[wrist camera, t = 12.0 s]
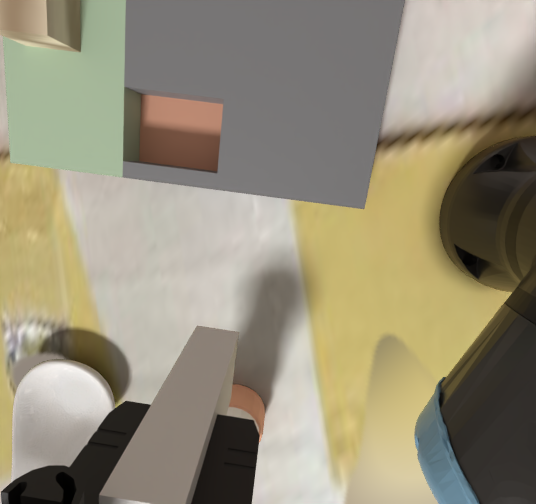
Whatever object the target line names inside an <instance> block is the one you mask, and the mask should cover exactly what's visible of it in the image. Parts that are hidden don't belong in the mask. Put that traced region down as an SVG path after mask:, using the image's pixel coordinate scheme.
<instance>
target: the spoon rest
mask: <svg viewBox="0 0 536 504" xmlns="http://www.w3.org/2000/svg"><path fill="white" fill-rule="evenodd" d="M114 409H115V401H114V396H113V393H112V390H111V388H110V386H109V384H108V383H107V381H106V380H105V379H104V378H103V377H102V375H101V374H100V373H98V372H97V371H96V370H94V369H93V368H91V367H89V366H87V365H85V364H83V363H80V362H77V361H73V360H65V359H54V360H48V361H44V362H42V363H40V364H38V365H36V366H34V367H33V368H32V369H31V370H29V371H28V372H27V374H26V375H25V376H24V377H23V379H22V380H21V382H20V384H19V386H18V388H17V391H16V394H15V400H14V406H13V429H12V476H11V483H12V482H13V481H14V480H15V479H17V478H19V477H20V476H22V475H24V474H26V473H28V472H30V471H31V470H34V469H38V468H42V467H45V466H49V465H65V466H67V467H70V465H71V464H72V463H73V461H74V460H75V459H76V457H77V456H78V454H79V453H80V452H81V450H82V449H83V448H84V446H85V445H87V444H88V441H89V439H90V438H91V437H92V435H93V434H94V433H95V431H96V432H97V429H98V427H99V426H100V424H101V423H102V422H103V420H104V419H105V417H106V416H107V415H108V413H109V412H111V411H112V410H114Z"/></svg>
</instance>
